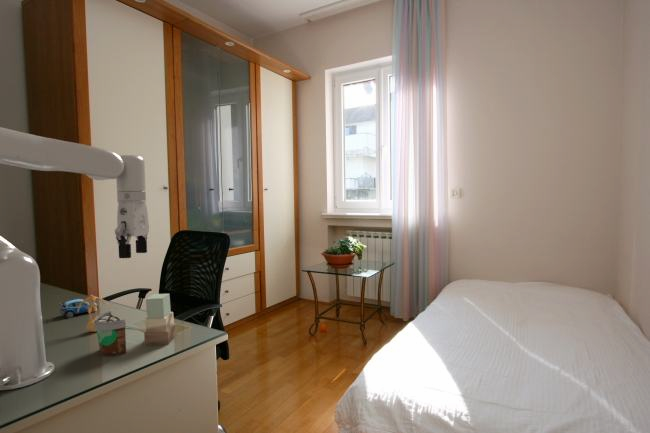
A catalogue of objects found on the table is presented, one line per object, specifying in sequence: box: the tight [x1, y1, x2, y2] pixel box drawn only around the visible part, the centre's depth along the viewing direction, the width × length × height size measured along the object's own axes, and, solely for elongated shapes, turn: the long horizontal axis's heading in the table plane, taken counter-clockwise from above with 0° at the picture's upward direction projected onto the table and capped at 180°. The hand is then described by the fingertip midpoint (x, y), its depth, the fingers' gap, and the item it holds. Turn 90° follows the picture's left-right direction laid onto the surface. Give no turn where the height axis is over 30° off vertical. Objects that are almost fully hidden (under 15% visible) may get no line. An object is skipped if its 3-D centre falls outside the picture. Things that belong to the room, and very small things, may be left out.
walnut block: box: [143, 322, 178, 346], centre depth 115 cm, size 7×7×4 cm
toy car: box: [58, 298, 99, 319], centre depth 143 cm, size 6×12×6 cm, turn 133°
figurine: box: [77, 294, 108, 333], centre depth 124 cm, size 8×6×12 cm
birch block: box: [144, 311, 175, 333], centre depth 114 cm, size 6×6×4 cm
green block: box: [145, 293, 172, 319], centre depth 114 cm, size 5×5×6 cm
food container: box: [93, 311, 127, 357], centre depth 107 cm, size 12×6×10 cm, turn 47°
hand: (133, 255), depth 112 cm, fingers open, 9 cm apart
